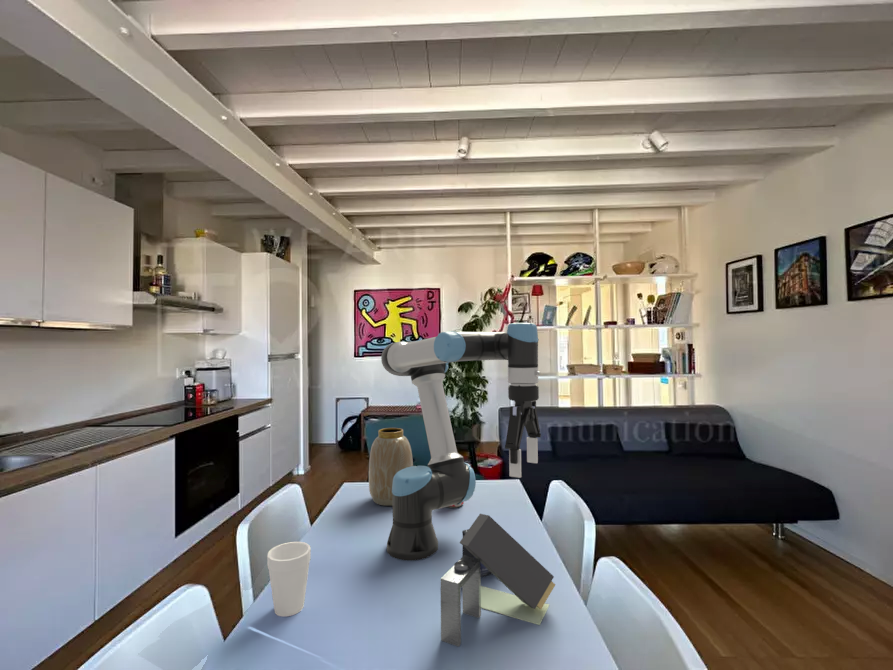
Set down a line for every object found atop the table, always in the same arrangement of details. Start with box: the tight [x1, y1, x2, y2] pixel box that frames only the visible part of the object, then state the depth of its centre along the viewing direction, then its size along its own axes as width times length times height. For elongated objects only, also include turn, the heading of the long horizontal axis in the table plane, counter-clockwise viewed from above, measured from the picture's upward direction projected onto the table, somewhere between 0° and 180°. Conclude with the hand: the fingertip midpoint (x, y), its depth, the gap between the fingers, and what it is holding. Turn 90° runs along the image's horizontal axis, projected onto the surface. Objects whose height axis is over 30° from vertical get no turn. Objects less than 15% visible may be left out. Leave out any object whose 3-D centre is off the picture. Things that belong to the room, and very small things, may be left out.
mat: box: [481, 585, 550, 626], centre depth 100 cm, size 18×8×1 cm, turn 62°
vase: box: [368, 427, 414, 507], centre depth 169 cm, size 17×17×27 cm
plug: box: [459, 513, 556, 609], centre depth 99 cm, size 22×6×8 cm
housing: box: [440, 555, 482, 648], centre depth 92 cm, size 4×11×13 cm, turn 152°
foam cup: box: [266, 541, 312, 618], centre depth 100 cm, size 10×9×13 cm
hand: (524, 469), depth 109 cm, fingers open, 13 cm apart
